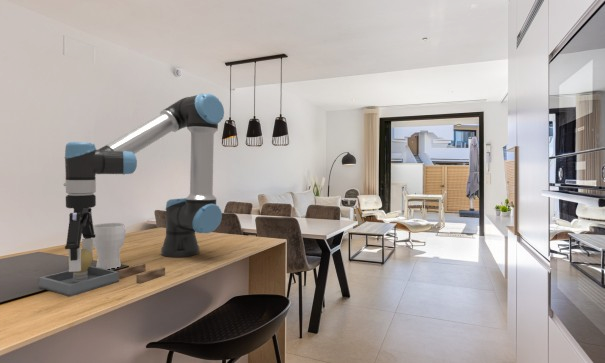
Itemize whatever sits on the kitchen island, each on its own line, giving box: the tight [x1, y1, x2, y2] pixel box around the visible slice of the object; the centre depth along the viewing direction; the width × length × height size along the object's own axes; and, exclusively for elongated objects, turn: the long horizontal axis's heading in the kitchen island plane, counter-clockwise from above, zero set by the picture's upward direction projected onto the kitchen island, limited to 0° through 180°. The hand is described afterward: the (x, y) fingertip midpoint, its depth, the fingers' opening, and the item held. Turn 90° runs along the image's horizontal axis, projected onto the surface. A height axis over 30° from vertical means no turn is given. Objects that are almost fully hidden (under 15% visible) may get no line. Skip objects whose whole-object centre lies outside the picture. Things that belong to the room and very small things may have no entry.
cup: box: [92, 222, 127, 270], centre depth 121 cm, size 11×11×15 cm
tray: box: [38, 265, 120, 297], centre depth 103 cm, size 15×15×3 cm
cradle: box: [116, 262, 166, 284], centre depth 111 cm, size 10×10×2 cm
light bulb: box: [67, 248, 94, 283], centre depth 102 cm, size 6×6×10 cm
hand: (81, 264), depth 103 cm, fingers open, 13 cm apart
